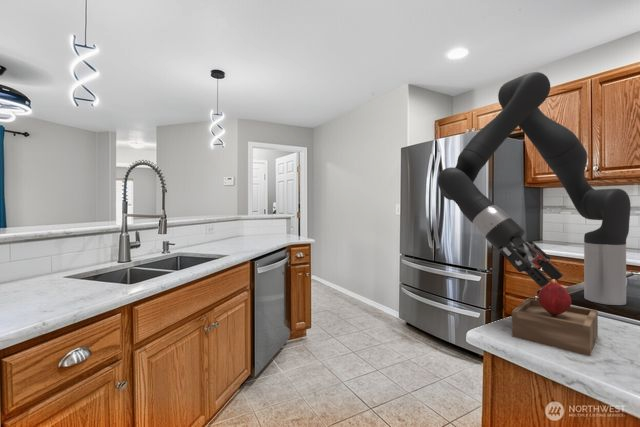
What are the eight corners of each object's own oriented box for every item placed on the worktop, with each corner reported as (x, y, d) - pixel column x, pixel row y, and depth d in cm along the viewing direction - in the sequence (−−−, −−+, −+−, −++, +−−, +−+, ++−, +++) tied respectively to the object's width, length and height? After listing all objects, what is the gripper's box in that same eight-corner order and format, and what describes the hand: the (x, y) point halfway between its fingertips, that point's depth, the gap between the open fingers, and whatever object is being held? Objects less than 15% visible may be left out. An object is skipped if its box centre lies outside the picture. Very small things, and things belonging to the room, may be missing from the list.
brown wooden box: (527, 323, 77) (527, 298, 77) (597, 338, 68) (597, 310, 68) (512, 338, 69) (511, 310, 68) (589, 358, 59) (589, 326, 59)
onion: (577, 321, 65) (577, 282, 65) (546, 319, 66) (546, 281, 66) (561, 312, 71) (561, 277, 71) (533, 311, 72) (533, 276, 72)
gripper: (495, 217, 71) (557, 276, 62) (520, 216, 80) (577, 267, 71) (472, 239, 75) (526, 297, 66) (498, 235, 84) (549, 286, 75)
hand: (552, 281), depth 68 cm, fingers open, 8 cm apart
